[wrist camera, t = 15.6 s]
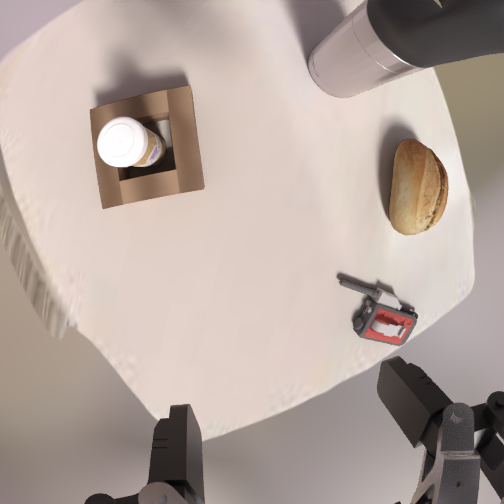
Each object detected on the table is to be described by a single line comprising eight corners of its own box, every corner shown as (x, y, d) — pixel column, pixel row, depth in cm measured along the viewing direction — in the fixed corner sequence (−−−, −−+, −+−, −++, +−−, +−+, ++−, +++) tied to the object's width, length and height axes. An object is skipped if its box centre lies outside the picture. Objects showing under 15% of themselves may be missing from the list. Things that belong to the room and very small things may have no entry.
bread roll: (425, 144, 39) (458, 143, 32) (421, 231, 43) (452, 243, 36) (380, 136, 38) (412, 132, 30) (377, 232, 42) (407, 245, 35)
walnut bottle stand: (192, 94, 33) (190, 85, 29) (204, 186, 37) (203, 189, 32) (102, 115, 32) (89, 109, 27) (114, 204, 36) (102, 209, 31)
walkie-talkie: (418, 302, 48) (339, 271, 43) (432, 312, 44) (351, 282, 39) (397, 341, 50) (315, 320, 45) (408, 353, 46) (324, 334, 41)
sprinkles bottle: (162, 169, 35) (136, 170, 23) (130, 164, 34) (90, 163, 22) (170, 136, 34) (149, 119, 21) (137, 130, 33) (102, 113, 21)
